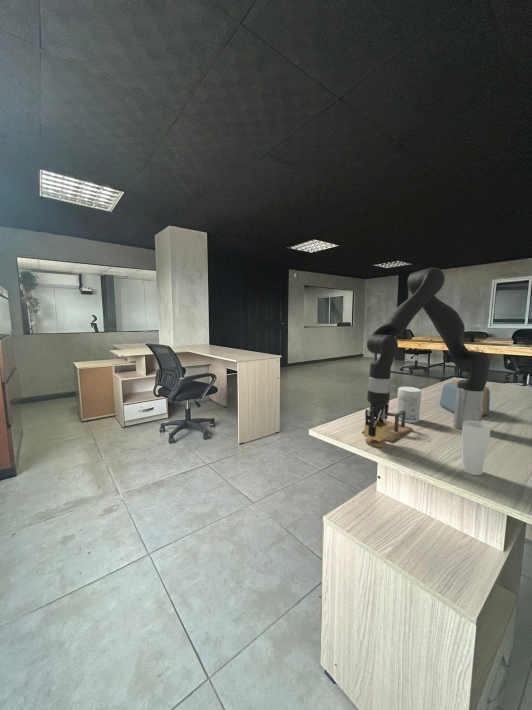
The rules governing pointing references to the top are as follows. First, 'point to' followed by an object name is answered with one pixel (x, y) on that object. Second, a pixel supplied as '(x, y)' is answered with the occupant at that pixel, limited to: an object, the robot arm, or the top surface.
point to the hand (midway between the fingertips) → (375, 433)
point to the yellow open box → (377, 431)
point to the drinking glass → (474, 446)
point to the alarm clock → (450, 397)
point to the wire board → (396, 427)
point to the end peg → (375, 442)
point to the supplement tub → (409, 403)
